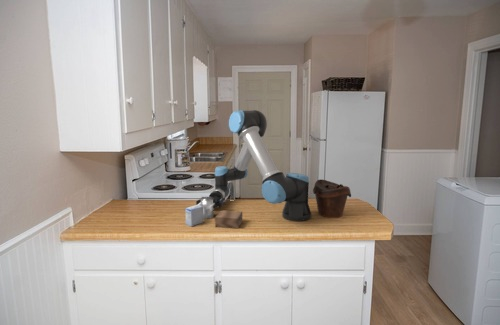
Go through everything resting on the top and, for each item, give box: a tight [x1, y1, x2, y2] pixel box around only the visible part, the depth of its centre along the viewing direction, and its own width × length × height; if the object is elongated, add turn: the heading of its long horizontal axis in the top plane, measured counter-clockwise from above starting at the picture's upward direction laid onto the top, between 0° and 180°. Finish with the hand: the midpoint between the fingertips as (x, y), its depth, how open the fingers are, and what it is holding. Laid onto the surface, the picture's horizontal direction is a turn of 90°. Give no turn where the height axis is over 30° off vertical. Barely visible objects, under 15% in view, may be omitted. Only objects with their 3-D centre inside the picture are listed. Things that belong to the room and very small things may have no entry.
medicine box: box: [184, 204, 204, 227], centre depth 171 cm, size 8×4×9 cm, turn 141°
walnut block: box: [214, 210, 243, 229], centre depth 171 cm, size 11×11×5 cm
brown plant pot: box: [312, 179, 352, 218], centre depth 185 cm, size 18×20×18 cm
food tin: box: [199, 196, 214, 220], centre depth 181 cm, size 7×7×10 cm
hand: (203, 208), depth 176 cm, fingers closed on food tin, 6 cm apart
